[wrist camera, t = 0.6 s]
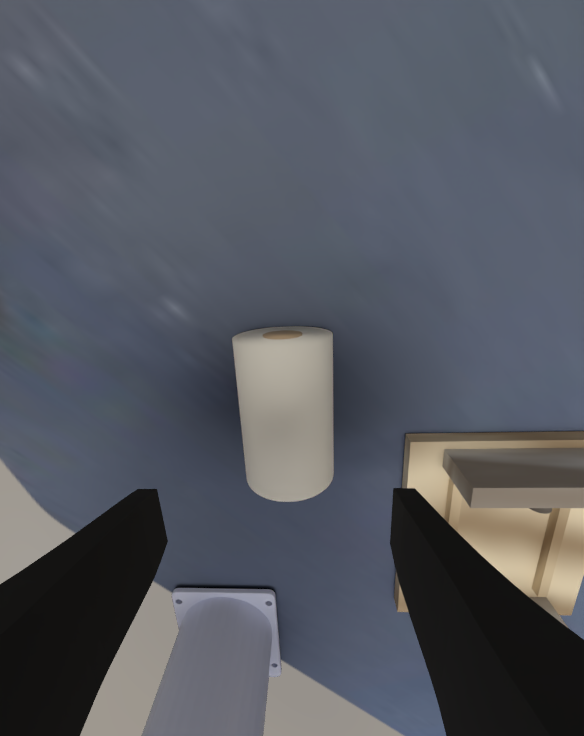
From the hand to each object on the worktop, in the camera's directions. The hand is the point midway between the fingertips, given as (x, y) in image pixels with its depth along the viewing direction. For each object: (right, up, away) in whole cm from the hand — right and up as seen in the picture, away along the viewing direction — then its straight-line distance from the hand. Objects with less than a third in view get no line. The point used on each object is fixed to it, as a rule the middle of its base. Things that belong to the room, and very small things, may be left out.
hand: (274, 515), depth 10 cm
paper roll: (+1, +3, +10) cm, 10 cm away
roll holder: (+14, -6, +12) cm, 19 cm away
